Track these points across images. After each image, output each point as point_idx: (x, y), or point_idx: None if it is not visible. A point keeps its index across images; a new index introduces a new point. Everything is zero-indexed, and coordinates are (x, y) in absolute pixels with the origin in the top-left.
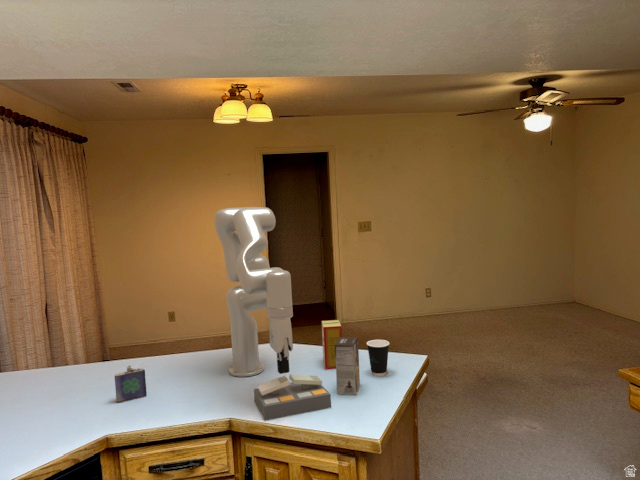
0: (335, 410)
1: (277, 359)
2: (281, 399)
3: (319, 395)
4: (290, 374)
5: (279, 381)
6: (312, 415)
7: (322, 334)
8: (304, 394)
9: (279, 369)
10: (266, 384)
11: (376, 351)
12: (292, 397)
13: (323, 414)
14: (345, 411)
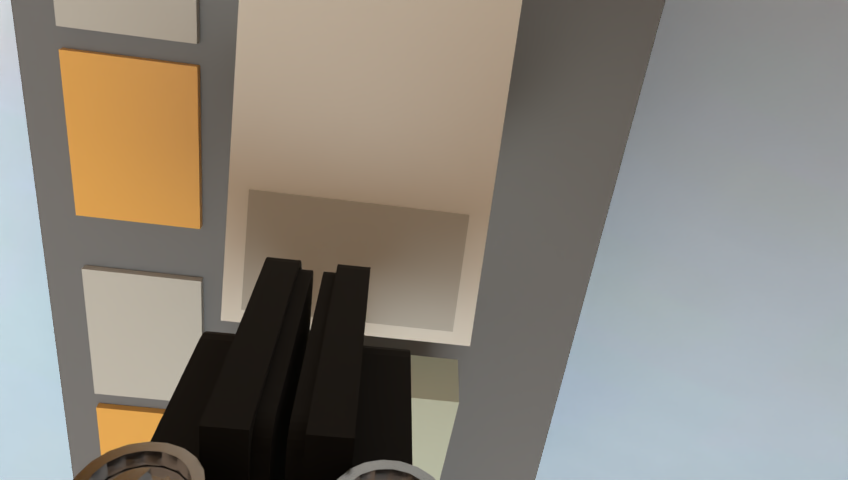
0: (59, 430)
1: (345, 445)
2: (111, 72)
3: (84, 439)
4: (449, 407)
5: (331, 198)
6: (30, 260)
7: None
8: (150, 340)
9: (252, 304)
10: (439, 2)
11: None
12: (120, 207)
13: (18, 336)
14: (15, 473)
